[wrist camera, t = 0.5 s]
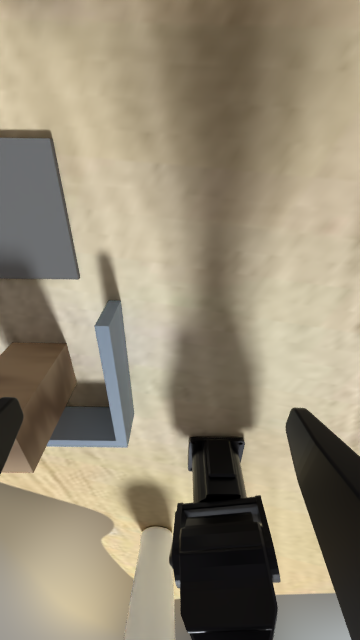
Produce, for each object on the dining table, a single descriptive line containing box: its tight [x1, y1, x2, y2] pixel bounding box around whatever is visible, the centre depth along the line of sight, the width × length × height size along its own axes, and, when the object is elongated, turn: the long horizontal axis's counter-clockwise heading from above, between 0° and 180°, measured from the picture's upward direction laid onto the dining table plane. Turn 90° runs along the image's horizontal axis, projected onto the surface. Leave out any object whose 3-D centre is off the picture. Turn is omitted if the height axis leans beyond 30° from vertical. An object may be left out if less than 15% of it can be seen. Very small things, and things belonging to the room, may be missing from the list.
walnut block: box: [0, 343, 77, 473], centre depth 21 cm, size 5×5×9 cm
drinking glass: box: [124, 526, 175, 640], centre depth 38 cm, size 7×7×15 cm
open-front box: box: [47, 300, 134, 447], centre depth 23 cm, size 14×16×4 cm
